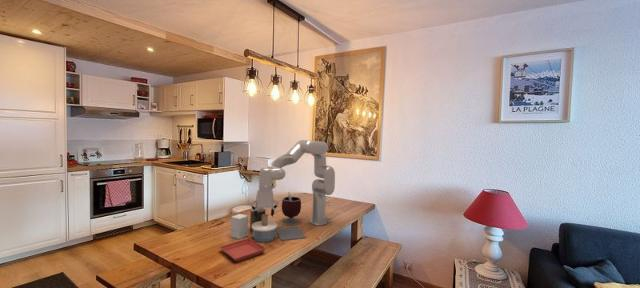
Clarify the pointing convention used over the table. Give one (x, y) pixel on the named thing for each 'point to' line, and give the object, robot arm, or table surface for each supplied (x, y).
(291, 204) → the mate gourd
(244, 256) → the plant saucer
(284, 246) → the table surface
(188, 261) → the table surface
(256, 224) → the lid
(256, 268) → the table surface
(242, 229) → the supplement box
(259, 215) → the grey cylinder
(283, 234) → the mat
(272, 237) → the bowl
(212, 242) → the table surface
